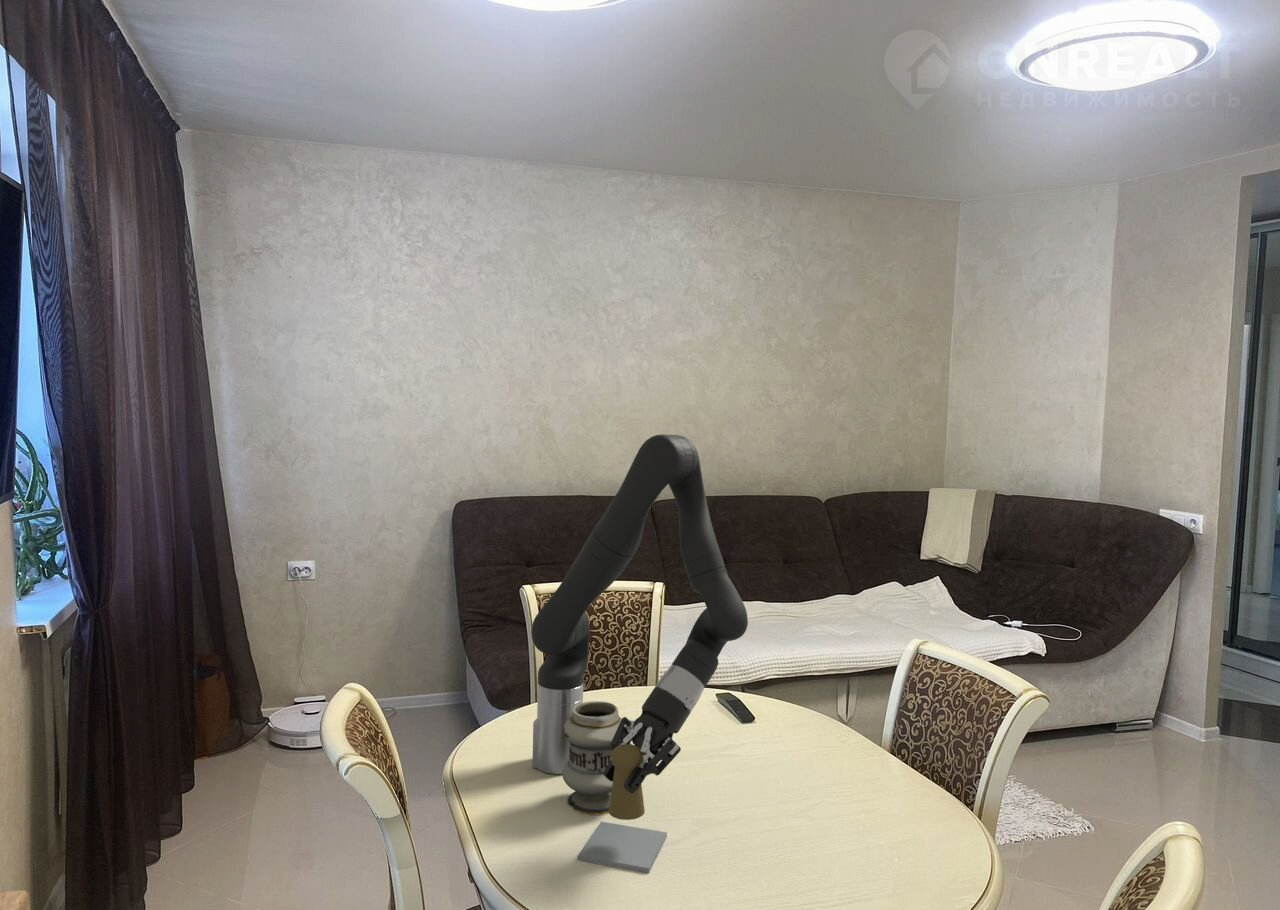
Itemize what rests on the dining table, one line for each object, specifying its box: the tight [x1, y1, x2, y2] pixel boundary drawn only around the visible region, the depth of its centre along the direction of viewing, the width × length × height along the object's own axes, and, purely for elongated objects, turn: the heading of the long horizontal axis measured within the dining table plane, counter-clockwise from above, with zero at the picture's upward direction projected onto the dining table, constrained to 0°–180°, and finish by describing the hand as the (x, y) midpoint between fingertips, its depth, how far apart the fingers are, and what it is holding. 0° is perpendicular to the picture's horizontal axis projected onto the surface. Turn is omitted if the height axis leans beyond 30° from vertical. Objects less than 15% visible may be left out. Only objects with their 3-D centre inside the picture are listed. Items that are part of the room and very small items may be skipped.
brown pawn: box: [608, 743, 646, 821], centre depth 146 cm, size 6×6×11 cm
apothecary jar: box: [561, 700, 623, 816], centre depth 162 cm, size 12×12×18 cm
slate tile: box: [577, 821, 668, 874], centre depth 147 cm, size 12×12×1 cm
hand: (618, 784), depth 145 cm, fingers closed on brown pawn, 5 cm apart
